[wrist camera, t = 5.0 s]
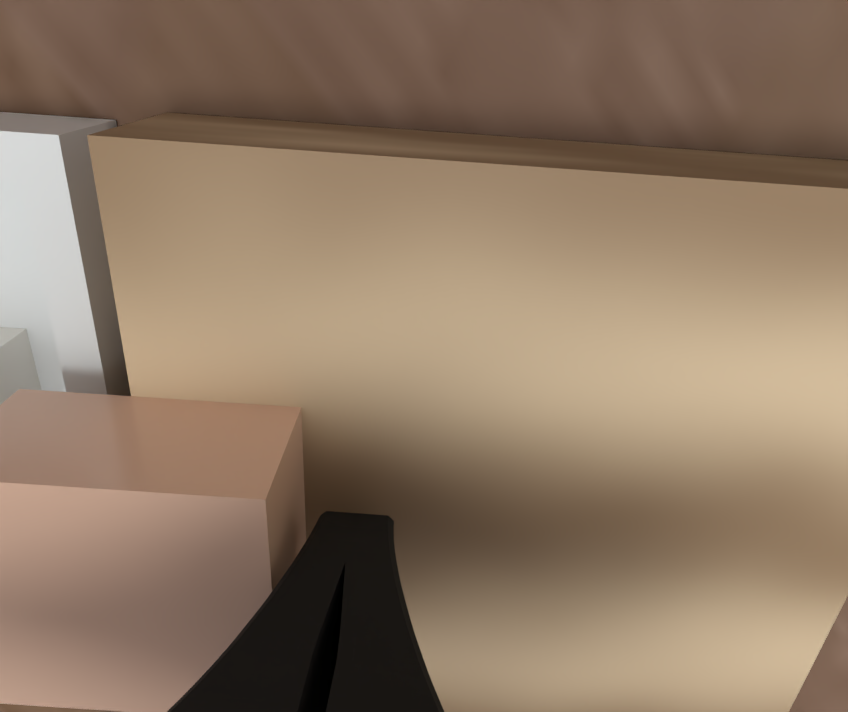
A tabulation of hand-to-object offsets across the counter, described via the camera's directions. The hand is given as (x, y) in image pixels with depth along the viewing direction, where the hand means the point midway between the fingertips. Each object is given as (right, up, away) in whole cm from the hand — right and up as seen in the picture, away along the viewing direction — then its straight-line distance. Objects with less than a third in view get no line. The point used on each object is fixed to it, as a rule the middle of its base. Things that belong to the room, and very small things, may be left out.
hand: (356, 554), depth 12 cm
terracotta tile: (-4, +1, +1) cm, 4 cm away
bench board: (+3, +1, +3) cm, 5 cm away
